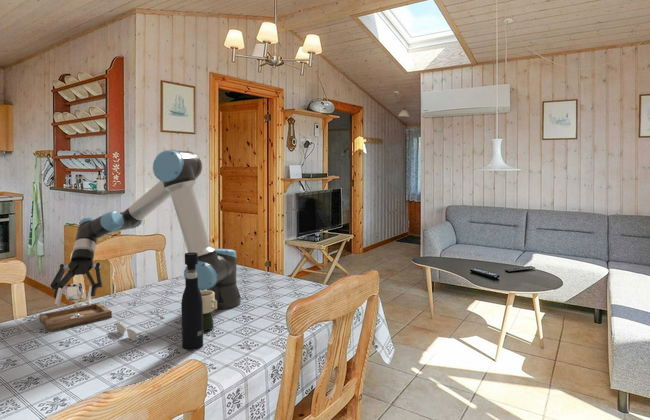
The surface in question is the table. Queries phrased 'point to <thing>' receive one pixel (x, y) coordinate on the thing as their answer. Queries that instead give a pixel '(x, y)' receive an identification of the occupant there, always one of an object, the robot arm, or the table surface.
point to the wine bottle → (192, 307)
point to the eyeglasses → (132, 333)
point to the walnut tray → (63, 319)
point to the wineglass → (75, 296)
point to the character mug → (208, 308)
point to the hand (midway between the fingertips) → (72, 304)
